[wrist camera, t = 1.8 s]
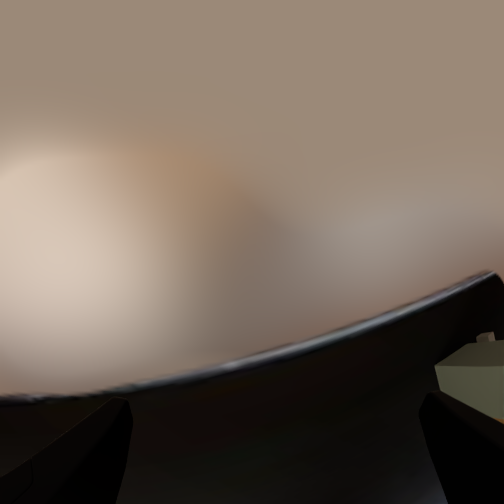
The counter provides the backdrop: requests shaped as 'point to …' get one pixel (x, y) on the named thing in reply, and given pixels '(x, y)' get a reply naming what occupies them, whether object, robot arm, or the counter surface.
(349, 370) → the counter surface
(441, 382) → the tea box
